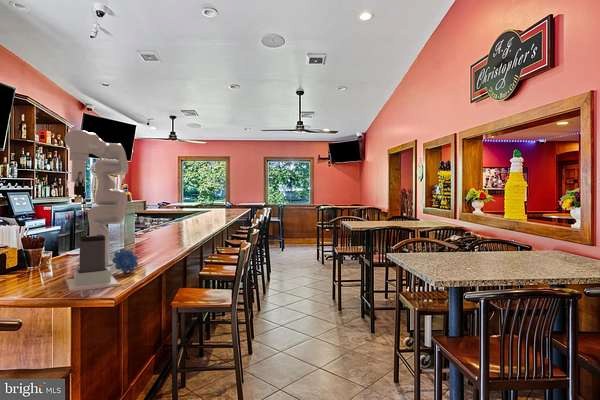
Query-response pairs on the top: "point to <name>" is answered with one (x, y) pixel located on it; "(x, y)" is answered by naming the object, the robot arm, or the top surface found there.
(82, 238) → the electronic device
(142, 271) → the top surface
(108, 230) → the robot arm
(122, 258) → the grapes
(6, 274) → the top surface
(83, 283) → the dock
